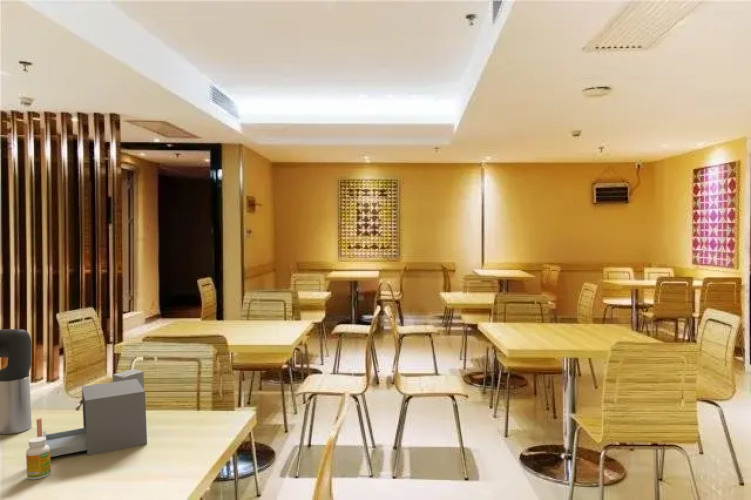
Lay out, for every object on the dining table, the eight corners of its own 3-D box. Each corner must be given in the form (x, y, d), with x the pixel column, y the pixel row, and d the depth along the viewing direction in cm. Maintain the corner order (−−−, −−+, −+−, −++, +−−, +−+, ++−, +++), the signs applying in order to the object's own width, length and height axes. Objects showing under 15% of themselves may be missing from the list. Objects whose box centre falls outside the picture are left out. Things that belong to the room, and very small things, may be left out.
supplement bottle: (43, 479, 148) (41, 442, 148) (22, 480, 148) (20, 443, 148) (55, 471, 154) (53, 435, 153) (35, 471, 154) (33, 435, 153)
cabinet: (83, 437, 179) (81, 386, 179) (138, 427, 187) (136, 378, 187) (87, 455, 164) (85, 400, 163) (147, 443, 172) (144, 391, 171)
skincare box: (135, 412, 204) (133, 368, 203) (147, 415, 200) (145, 370, 199) (112, 418, 197) (110, 373, 196) (124, 422, 193) (122, 375, 192)
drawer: (38, 443, 172) (37, 406, 172) (98, 432, 180) (97, 397, 180) (38, 459, 159) (36, 420, 159) (103, 447, 167) (101, 409, 167)
